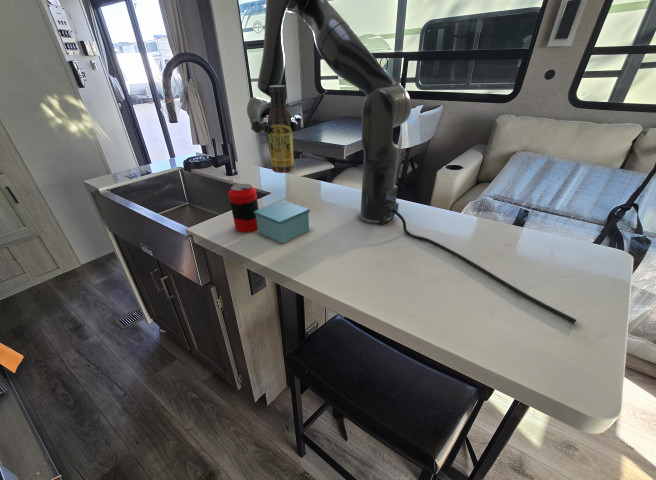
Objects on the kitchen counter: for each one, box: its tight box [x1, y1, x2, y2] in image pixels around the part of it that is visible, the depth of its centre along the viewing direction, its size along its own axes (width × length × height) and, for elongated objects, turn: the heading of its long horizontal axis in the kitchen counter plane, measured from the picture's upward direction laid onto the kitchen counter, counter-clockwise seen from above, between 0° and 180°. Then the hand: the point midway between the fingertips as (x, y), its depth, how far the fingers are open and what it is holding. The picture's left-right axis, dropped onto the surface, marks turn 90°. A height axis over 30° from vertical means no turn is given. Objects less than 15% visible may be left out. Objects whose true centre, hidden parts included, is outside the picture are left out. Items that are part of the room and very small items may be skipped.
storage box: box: [254, 199, 311, 244], centre depth 87 cm, size 11×11×6 cm
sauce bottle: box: [268, 84, 295, 174], centre depth 81 cm, size 6×6×20 cm
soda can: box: [228, 183, 260, 234], centre depth 89 cm, size 8×8×12 cm
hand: (281, 128), depth 78 cm, fingers closed on sauce bottle, 6 cm apart
